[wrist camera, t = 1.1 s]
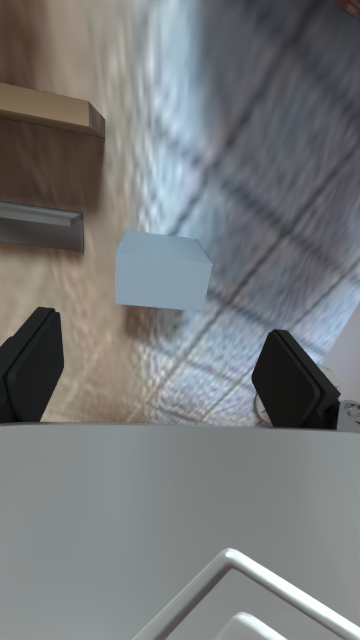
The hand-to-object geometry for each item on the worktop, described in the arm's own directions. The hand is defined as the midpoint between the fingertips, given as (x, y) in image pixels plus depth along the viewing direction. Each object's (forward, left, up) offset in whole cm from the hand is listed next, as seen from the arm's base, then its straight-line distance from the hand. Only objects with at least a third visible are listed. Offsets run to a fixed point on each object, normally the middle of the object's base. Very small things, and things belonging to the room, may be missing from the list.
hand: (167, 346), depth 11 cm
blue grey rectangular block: (0, 0, -17) cm, 17 cm away
